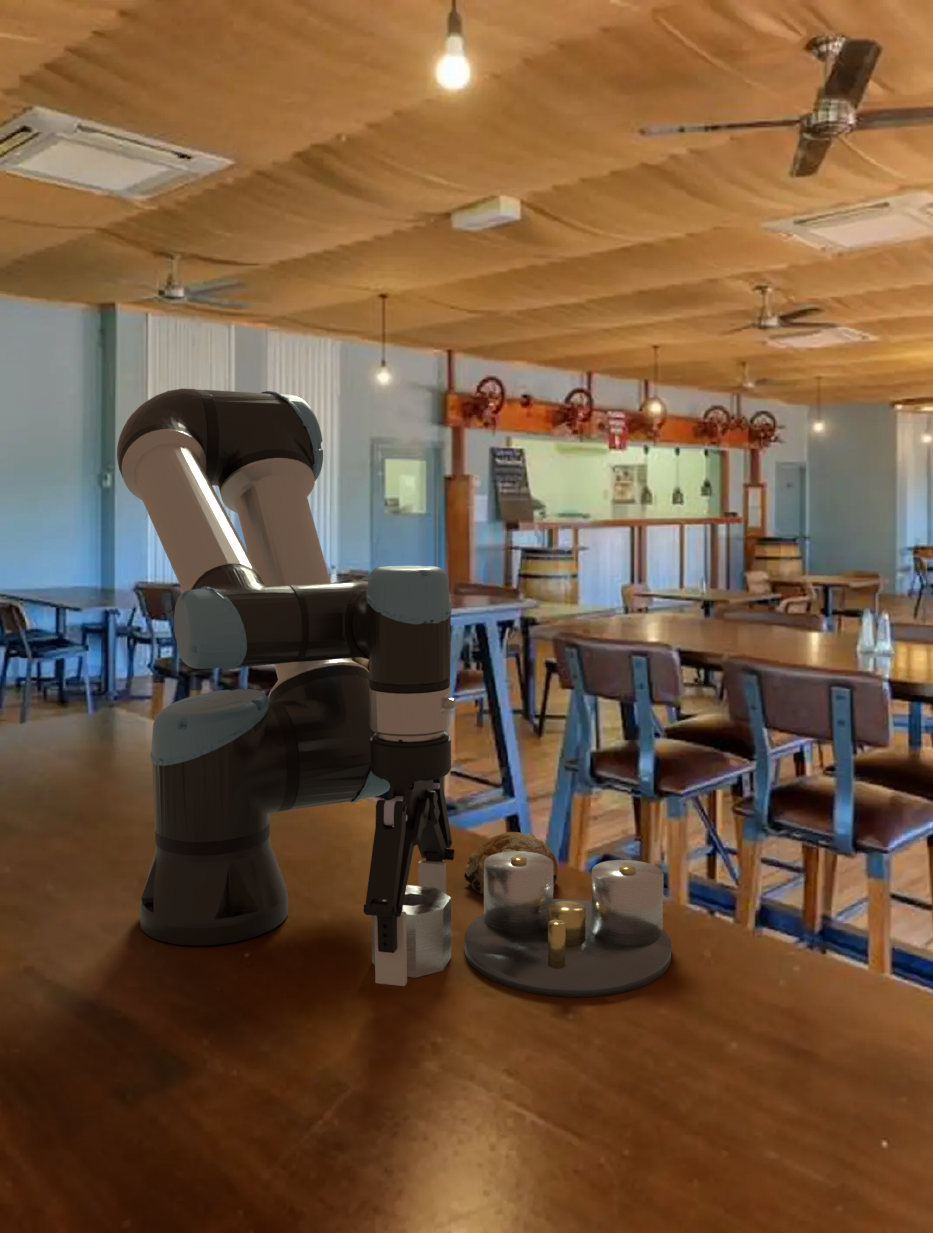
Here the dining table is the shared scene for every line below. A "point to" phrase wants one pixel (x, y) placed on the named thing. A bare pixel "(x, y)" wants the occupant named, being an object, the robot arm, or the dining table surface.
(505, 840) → the bread roll
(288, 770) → the robot arm
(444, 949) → the octagonal metal nut
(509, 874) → the carrier
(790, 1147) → the dining table surface
